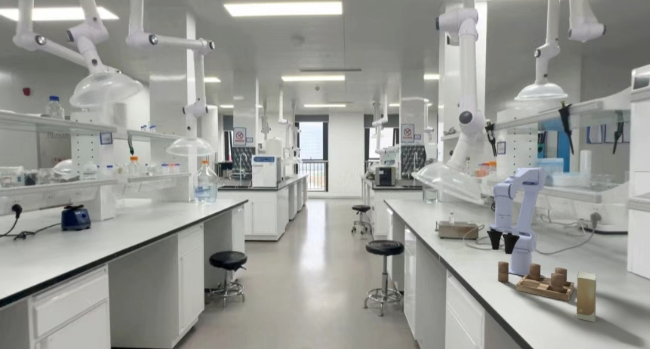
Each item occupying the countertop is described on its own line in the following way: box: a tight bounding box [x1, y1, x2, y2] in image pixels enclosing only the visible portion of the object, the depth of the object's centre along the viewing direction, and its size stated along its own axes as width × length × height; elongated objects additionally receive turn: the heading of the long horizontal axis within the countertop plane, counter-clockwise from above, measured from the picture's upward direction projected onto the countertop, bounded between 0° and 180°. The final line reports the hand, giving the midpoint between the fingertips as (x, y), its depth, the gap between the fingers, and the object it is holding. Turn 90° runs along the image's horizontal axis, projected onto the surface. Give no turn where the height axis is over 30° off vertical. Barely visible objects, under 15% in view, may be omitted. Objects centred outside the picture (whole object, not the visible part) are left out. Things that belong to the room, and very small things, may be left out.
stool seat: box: [515, 262, 575, 302], centre depth 121 cm, size 15×15×7 cm
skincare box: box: [576, 271, 597, 323], centre depth 100 cm, size 6×4×12 cm
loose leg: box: [497, 261, 510, 284], centre depth 130 cm, size 4×4×7 cm
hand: (501, 251), depth 128 cm, fingers open, 7 cm apart
